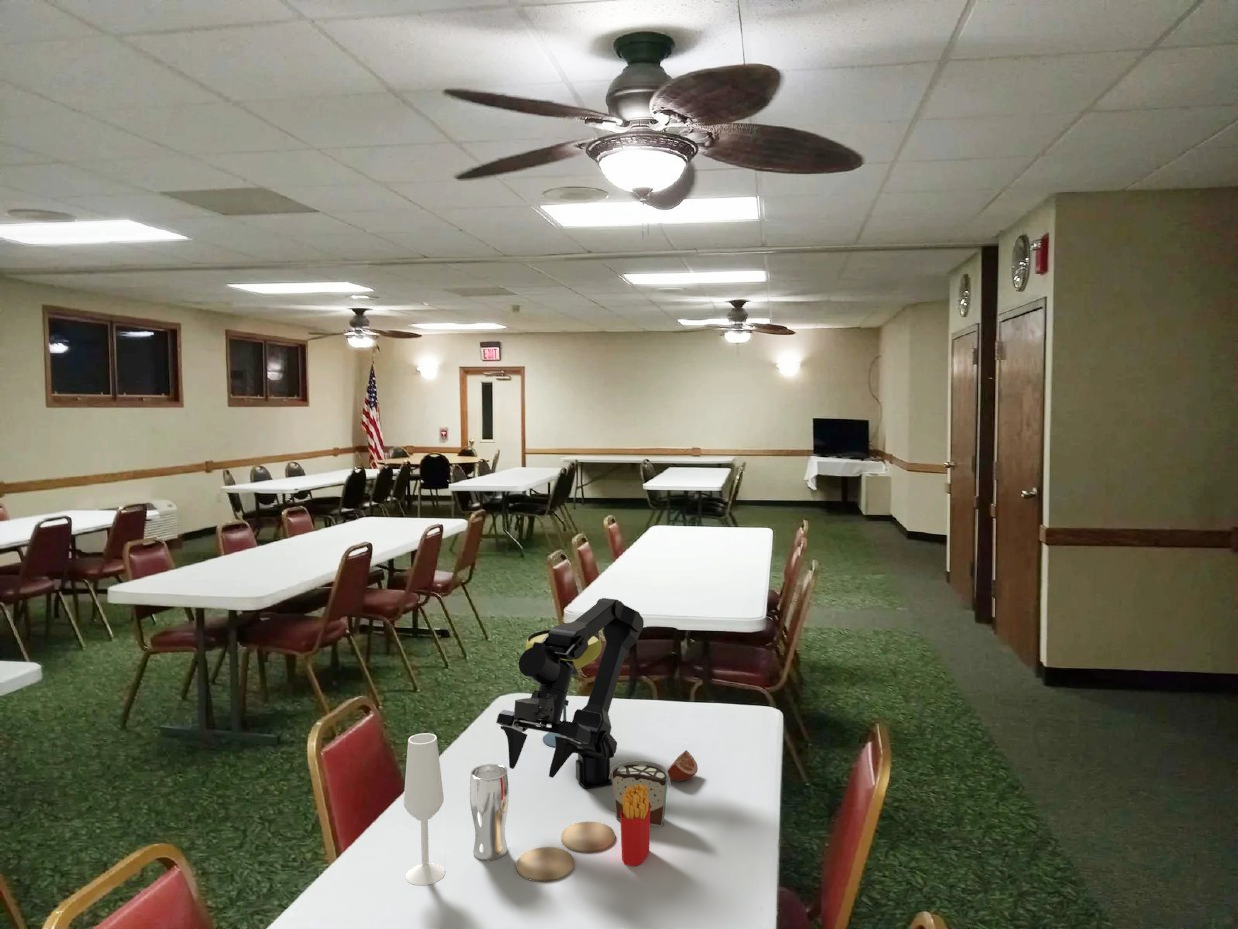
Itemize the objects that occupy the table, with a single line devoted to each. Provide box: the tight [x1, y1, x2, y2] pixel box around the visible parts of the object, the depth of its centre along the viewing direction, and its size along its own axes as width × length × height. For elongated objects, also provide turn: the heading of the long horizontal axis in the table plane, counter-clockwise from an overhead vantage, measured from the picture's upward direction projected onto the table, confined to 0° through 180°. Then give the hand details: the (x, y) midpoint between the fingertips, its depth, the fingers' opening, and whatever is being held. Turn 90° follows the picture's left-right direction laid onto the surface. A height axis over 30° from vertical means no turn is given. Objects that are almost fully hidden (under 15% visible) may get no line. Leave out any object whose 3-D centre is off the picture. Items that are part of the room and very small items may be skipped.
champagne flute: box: [403, 732, 446, 886], centre depth 142 cm, size 7×7×24 cm
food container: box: [609, 760, 672, 828], centre depth 163 cm, size 12×6×10 cm, turn 71°
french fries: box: [620, 784, 651, 867], centre depth 148 cm, size 8×4×12 cm, turn 157°
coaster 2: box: [560, 821, 616, 853], centre depth 155 cm, size 10×10×1 cm
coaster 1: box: [516, 846, 575, 882], centre depth 146 cm, size 10×10×1 cm
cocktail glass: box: [525, 629, 602, 748], centre depth 200 cm, size 18×18×25 cm
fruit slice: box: [666, 749, 698, 782], centre depth 179 cm, size 8×7×5 cm
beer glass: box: [469, 763, 510, 862], centre depth 150 cm, size 7×7×15 cm
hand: (530, 772), depth 156 cm, fingers open, 9 cm apart
